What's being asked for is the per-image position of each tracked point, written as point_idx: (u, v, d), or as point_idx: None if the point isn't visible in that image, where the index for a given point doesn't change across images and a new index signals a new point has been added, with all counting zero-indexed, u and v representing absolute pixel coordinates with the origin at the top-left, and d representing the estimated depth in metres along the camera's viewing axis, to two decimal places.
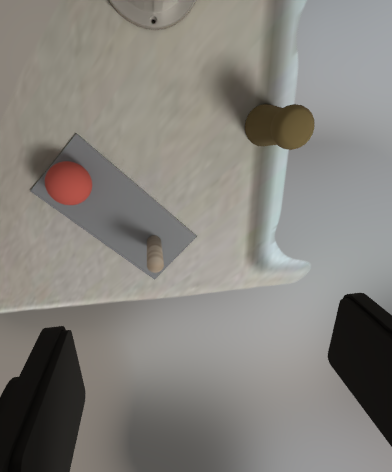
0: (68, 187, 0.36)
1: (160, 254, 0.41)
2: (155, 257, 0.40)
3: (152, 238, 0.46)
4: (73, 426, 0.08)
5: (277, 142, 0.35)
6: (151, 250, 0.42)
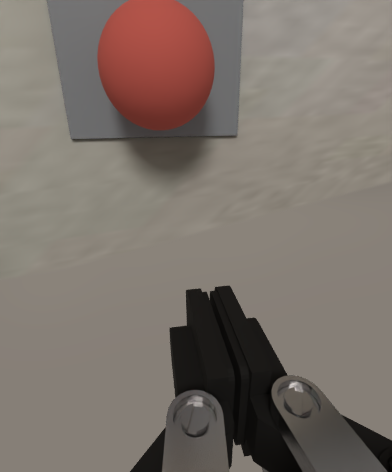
0: (150, 47, 0.12)
1: None
2: None
3: None
4: None
5: None
6: None
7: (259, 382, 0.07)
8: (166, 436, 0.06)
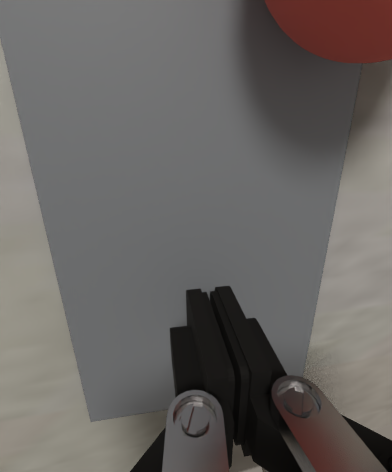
0: (334, 31, 0.06)
1: None
2: None
3: None
4: None
5: None
6: None
7: (259, 382, 0.07)
8: (166, 436, 0.06)
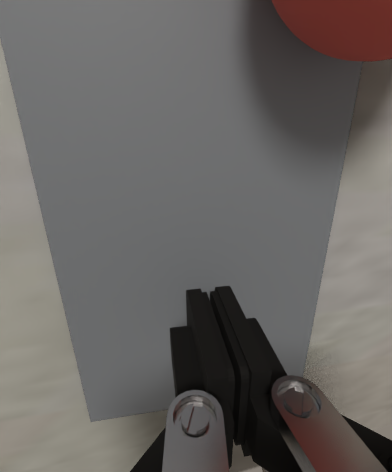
0: (346, 27, 0.06)
1: None
2: None
3: None
4: None
5: None
6: None
7: (259, 382, 0.07)
8: (166, 436, 0.06)
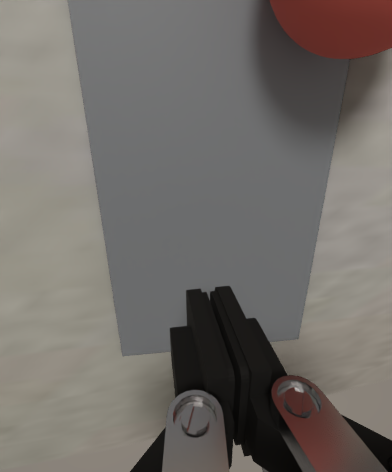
0: (324, 36, 0.08)
1: None
2: None
3: None
4: None
5: None
6: None
7: (259, 382, 0.07)
8: (166, 436, 0.06)
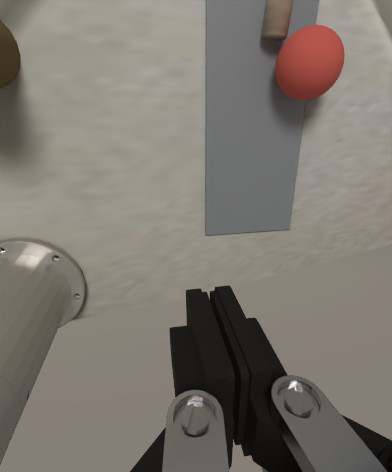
0: (295, 94, 0.27)
1: None
2: None
3: (284, 15, 0.25)
4: None
5: None
6: None
7: (259, 382, 0.07)
8: (166, 436, 0.06)
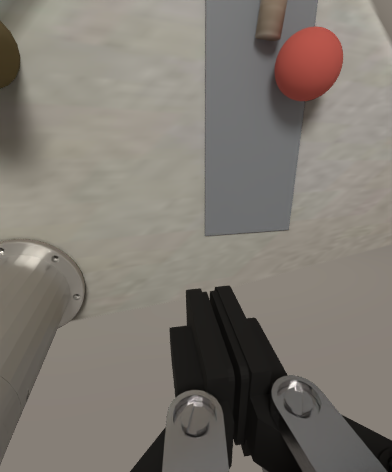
0: (294, 95, 0.27)
1: None
2: None
3: (272, 15, 0.25)
4: None
5: None
6: None
7: (259, 382, 0.07)
8: (166, 436, 0.06)
